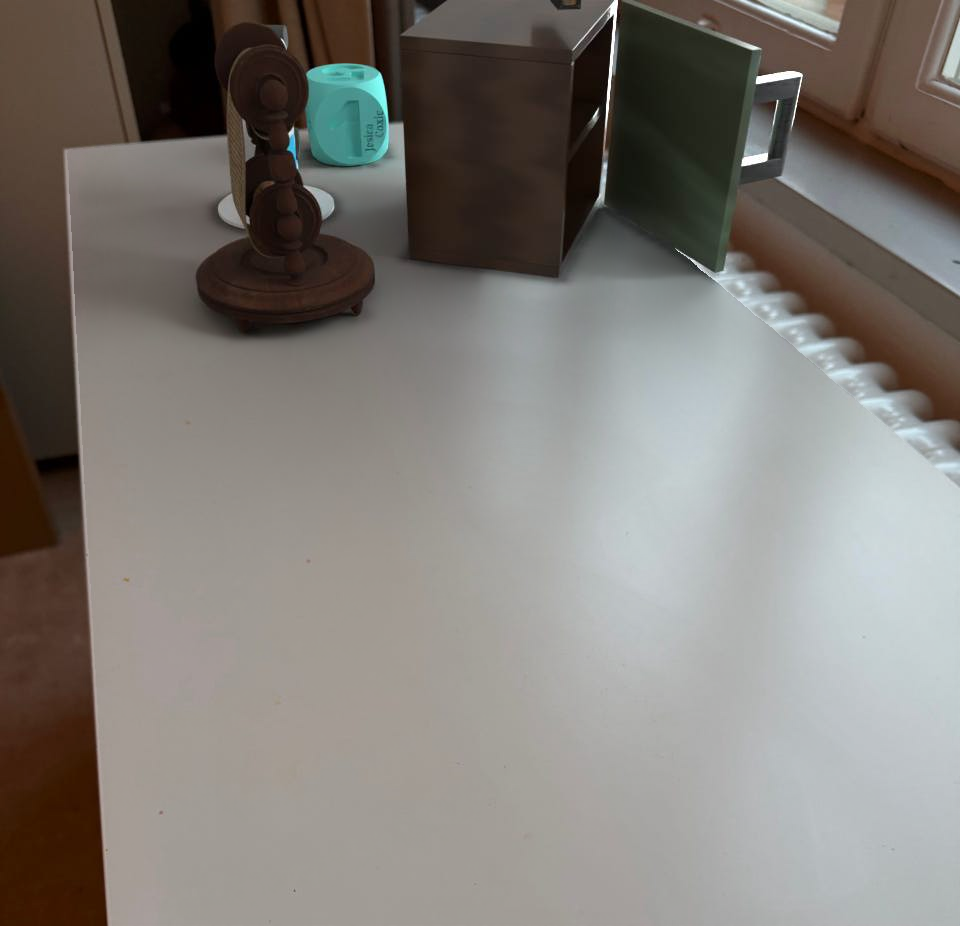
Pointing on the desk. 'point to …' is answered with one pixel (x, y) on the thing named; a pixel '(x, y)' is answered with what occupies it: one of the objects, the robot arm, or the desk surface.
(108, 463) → the desk surface
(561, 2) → the ammunition clip
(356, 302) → the dark brown piece
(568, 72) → the cupboard
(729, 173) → the cupboard door
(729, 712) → the desk surface
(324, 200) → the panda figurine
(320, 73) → the decorative dice
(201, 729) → the desk surface
